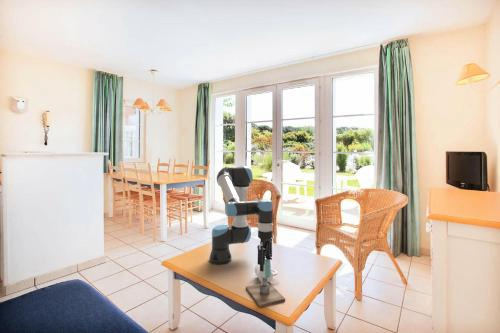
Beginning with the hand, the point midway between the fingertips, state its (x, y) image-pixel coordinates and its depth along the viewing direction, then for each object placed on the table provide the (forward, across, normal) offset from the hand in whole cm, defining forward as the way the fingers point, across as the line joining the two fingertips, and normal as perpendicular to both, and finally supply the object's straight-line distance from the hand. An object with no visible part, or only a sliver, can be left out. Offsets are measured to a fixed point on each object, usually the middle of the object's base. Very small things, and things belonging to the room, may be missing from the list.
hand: (264, 274), depth 130 cm
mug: (+11, +15, +6) cm, 20 cm away
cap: (+1, 0, 0) cm, 1 cm away
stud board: (+11, 0, 0) cm, 11 cm away
